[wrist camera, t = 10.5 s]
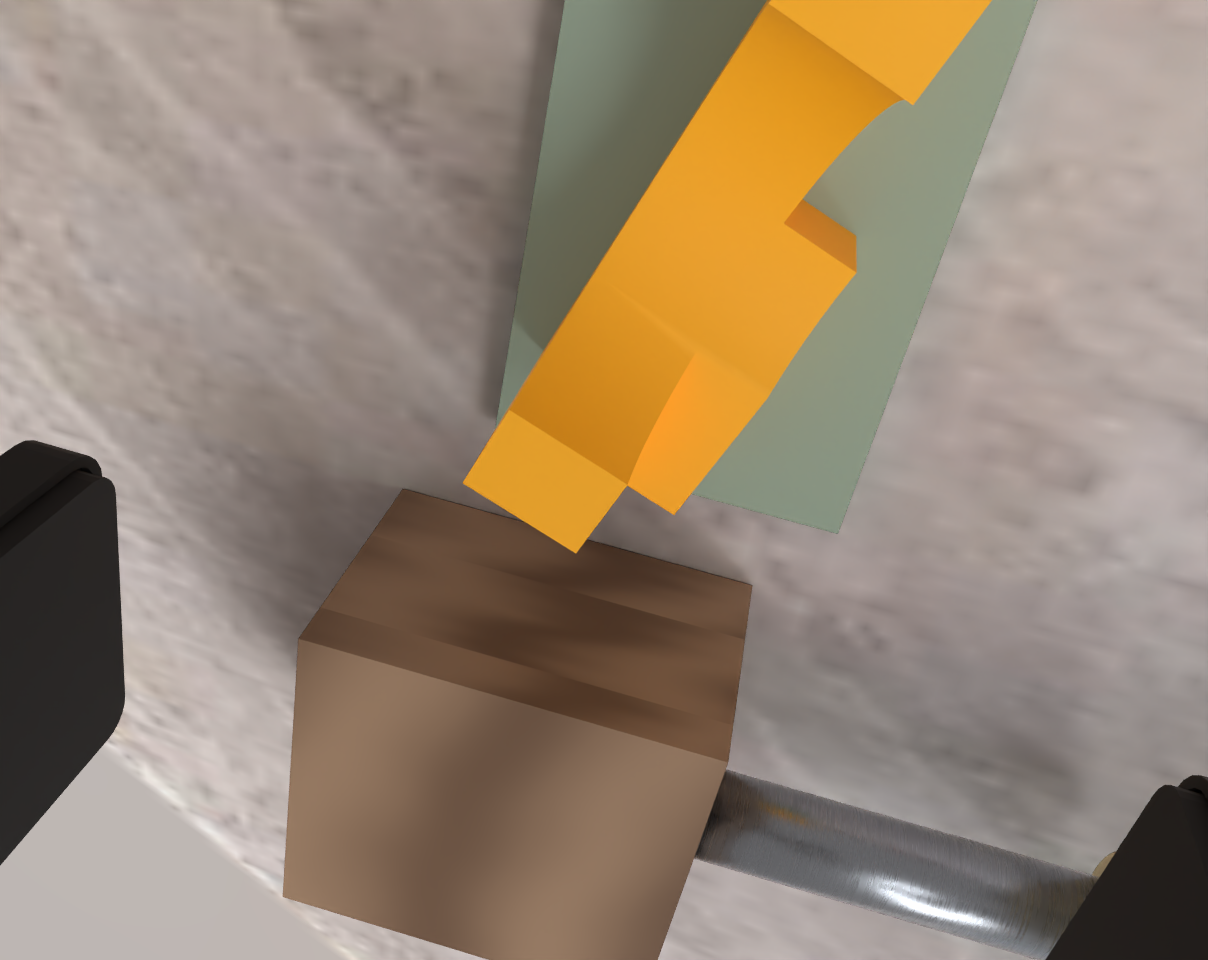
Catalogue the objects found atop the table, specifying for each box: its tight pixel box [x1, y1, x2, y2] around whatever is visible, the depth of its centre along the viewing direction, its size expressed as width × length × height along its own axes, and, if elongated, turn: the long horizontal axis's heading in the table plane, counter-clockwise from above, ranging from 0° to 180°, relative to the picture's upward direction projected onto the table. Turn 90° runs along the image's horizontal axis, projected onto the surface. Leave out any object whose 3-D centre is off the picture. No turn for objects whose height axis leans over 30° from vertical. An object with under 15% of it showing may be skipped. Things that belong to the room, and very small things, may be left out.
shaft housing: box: [283, 489, 752, 960], centre depth 30 cm, size 10×9×7 cm
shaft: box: [694, 770, 1116, 960], centre depth 29 cm, size 15×4×4 cm, turn 79°
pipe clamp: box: [463, 0, 992, 553], centre depth 21 cm, size 12×4×6 cm, turn 149°
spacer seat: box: [495, 0, 1038, 534], centre depth 24 cm, size 9×15×1 cm, turn 169°
